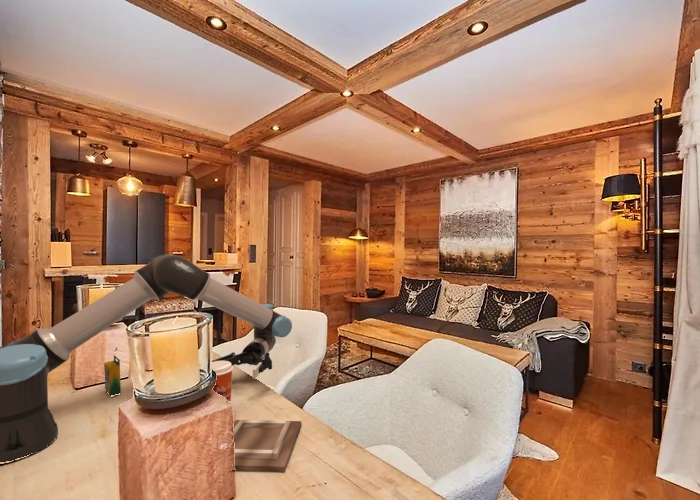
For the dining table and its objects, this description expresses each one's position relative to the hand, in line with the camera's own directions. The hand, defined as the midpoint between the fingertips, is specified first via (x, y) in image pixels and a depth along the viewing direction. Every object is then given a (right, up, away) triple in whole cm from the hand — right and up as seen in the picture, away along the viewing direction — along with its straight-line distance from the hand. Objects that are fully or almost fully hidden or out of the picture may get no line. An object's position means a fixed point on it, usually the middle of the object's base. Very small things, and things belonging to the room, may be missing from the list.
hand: (232, 374), depth 102 cm
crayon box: (-42, -9, +7) cm, 43 cm away
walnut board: (+14, -9, -22) cm, 28 cm away
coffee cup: (0, -9, -10) cm, 13 cm away
